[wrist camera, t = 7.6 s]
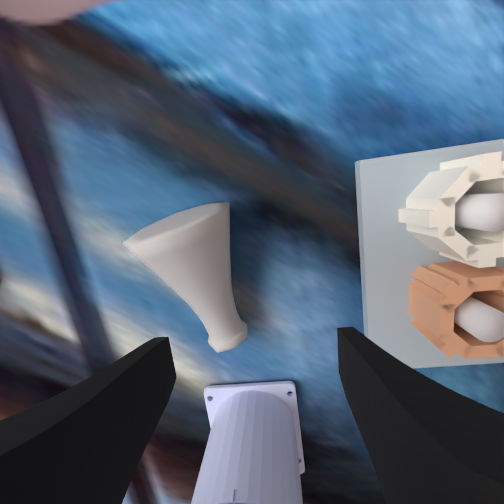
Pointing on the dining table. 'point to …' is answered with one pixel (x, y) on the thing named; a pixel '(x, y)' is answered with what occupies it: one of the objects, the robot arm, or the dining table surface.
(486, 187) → the gear
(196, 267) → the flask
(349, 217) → the dining table surface
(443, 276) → the gear
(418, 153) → the gear board
